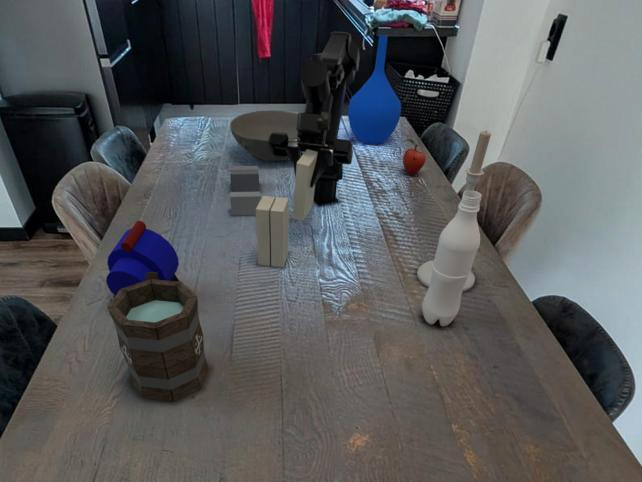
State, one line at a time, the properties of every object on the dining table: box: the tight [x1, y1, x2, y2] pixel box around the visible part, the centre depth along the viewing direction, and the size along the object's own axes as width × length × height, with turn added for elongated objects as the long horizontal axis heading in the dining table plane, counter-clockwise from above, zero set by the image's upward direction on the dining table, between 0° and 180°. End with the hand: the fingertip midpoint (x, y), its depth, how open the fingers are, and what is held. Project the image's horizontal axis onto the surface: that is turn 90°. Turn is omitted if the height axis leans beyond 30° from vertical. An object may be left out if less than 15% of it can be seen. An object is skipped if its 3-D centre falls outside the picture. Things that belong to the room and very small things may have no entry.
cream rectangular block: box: [291, 149, 318, 222], centre depth 109 cm, size 7×3×13 cm, turn 161°
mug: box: [107, 272, 210, 402], centre depth 80 cm, size 20×14×15 cm
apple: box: [402, 138, 427, 176], centre depth 147 cm, size 8×7×10 cm
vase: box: [347, 34, 402, 145], centre depth 161 cm, size 18×18×30 cm
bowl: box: [229, 110, 300, 162], centre depth 154 cm, size 26×26×10 cm
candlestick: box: [416, 129, 492, 293], centre depth 97 cm, size 13×13×30 cm
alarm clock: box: [105, 220, 181, 298], centre depth 94 cm, size 12×12×15 cm
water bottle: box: [421, 190, 483, 327], centre depth 88 cm, size 7×7×25 cm
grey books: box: [229, 165, 262, 217], centre depth 133 cm, size 8×21×5 cm, turn 5°
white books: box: [255, 195, 290, 268], centre depth 107 cm, size 7×6×13 cm
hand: (304, 186), depth 107 cm, fingers closed on cream rectangular block, 3 cm apart
